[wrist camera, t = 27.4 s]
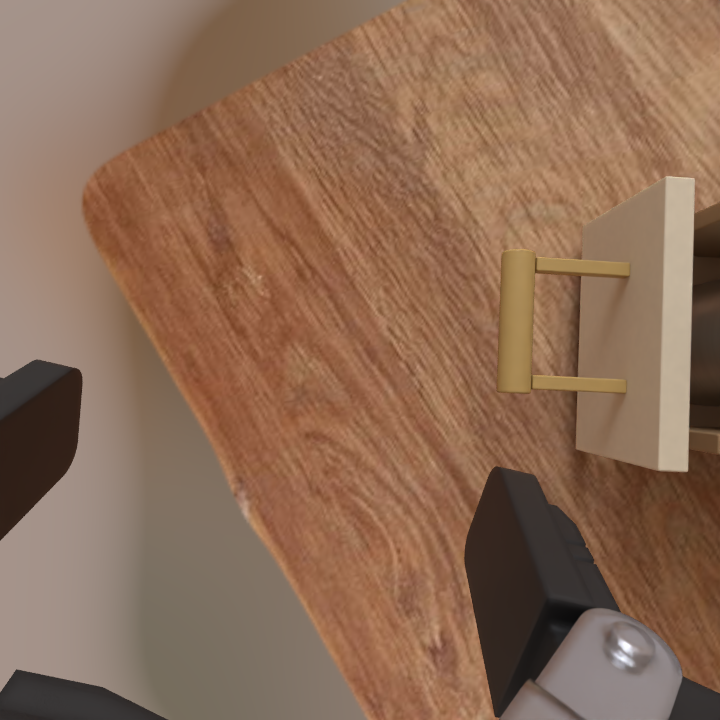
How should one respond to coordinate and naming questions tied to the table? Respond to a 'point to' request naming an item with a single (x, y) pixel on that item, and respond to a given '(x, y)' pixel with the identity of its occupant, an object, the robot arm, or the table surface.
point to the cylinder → (705, 344)
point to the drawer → (626, 327)
